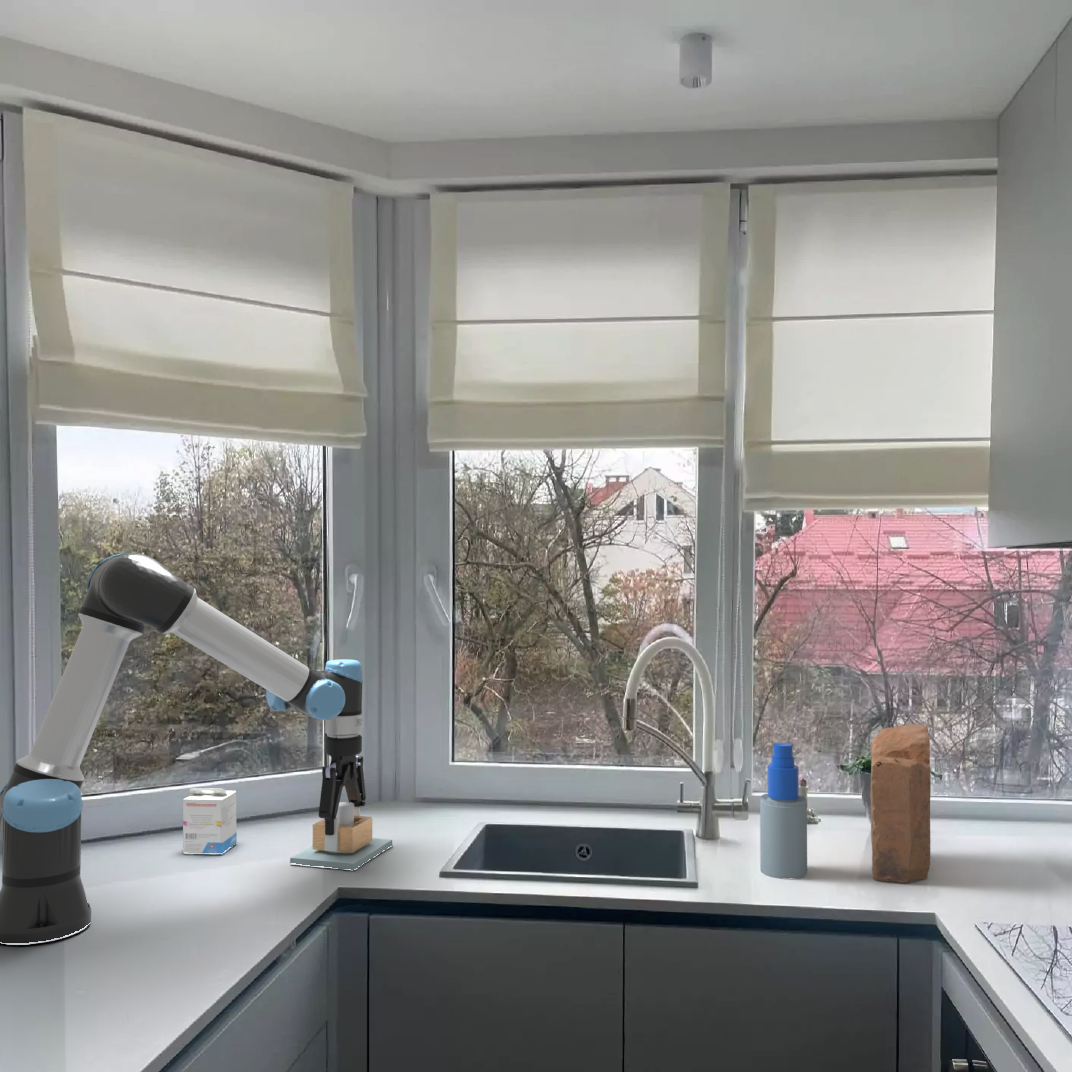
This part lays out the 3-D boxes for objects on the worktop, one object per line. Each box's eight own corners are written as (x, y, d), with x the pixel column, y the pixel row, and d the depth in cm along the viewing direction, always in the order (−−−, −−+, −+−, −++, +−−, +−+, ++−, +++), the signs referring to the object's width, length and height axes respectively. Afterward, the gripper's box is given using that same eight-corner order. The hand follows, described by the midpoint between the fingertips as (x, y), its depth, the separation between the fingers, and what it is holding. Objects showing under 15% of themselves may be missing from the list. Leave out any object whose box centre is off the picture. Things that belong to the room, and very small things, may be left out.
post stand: (353, 871, 195) (353, 817, 195) (290, 865, 199) (290, 812, 199) (392, 846, 212) (392, 797, 212) (333, 841, 216) (333, 792, 216)
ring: (352, 852, 200) (352, 827, 200) (312, 849, 202) (312, 824, 203) (372, 840, 209) (372, 816, 209) (333, 837, 211) (333, 814, 211)
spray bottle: (805, 866, 198) (804, 740, 199) (808, 880, 190) (807, 748, 190) (760, 863, 200) (759, 739, 201) (761, 877, 191) (760, 747, 192)
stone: (935, 888, 184) (933, 735, 186) (871, 882, 188) (869, 732, 190) (928, 860, 205) (926, 722, 207) (870, 855, 208) (869, 720, 210)
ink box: (237, 844, 214) (238, 782, 214) (221, 856, 205) (222, 790, 206) (199, 843, 214) (199, 781, 215) (181, 855, 206) (182, 790, 207)
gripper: (334, 744, 195) (333, 860, 194) (382, 727, 216) (382, 832, 215) (300, 742, 197) (299, 857, 196) (351, 725, 218) (350, 829, 217)
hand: (342, 844), depth 206 cm, fingers closed on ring, 9 cm apart
